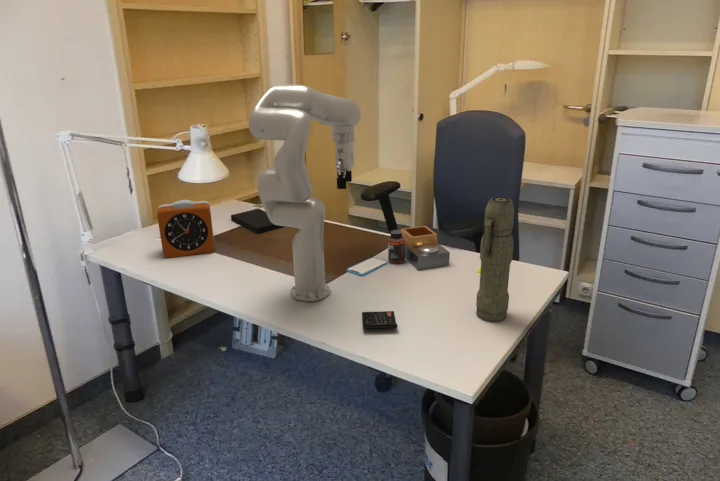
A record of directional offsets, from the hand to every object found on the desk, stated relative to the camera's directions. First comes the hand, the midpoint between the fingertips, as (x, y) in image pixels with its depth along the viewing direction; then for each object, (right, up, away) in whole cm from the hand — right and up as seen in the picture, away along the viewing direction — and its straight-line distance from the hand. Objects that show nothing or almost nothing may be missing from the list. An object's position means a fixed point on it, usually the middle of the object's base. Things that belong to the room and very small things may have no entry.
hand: (344, 185), depth 193 cm
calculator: (+11, -44, -38) cm, 59 cm away
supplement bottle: (+19, -27, +2) cm, 33 cm away
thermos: (+44, -41, -35) cm, 70 cm away
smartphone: (+8, -30, -2) cm, 31 cm away
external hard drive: (-39, -13, +43) cm, 59 cm away
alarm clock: (-59, -24, +14) cm, 66 cm away
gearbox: (+28, -26, +5) cm, 38 cm away
